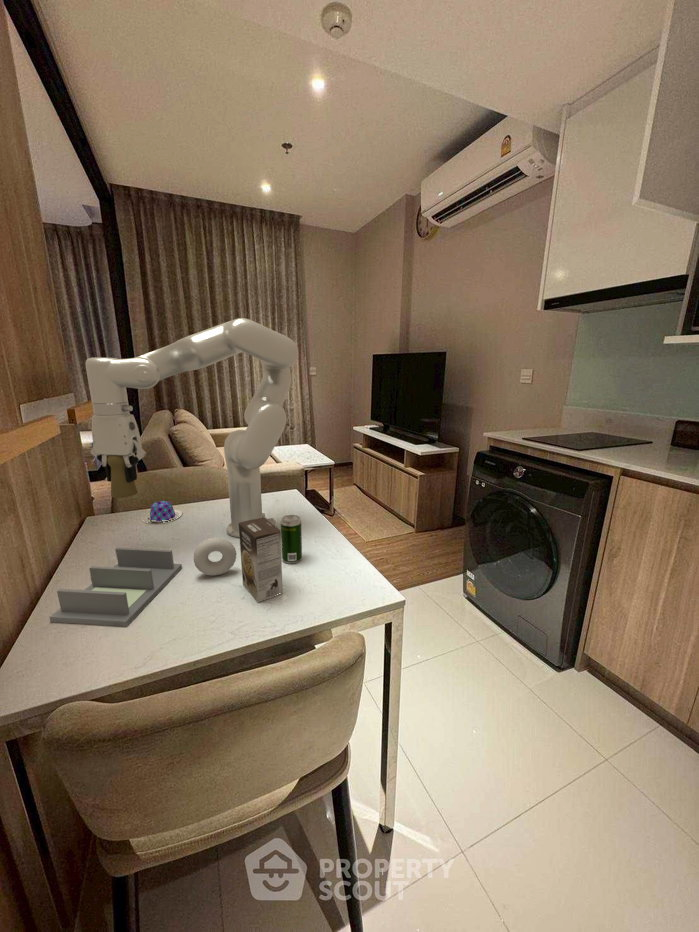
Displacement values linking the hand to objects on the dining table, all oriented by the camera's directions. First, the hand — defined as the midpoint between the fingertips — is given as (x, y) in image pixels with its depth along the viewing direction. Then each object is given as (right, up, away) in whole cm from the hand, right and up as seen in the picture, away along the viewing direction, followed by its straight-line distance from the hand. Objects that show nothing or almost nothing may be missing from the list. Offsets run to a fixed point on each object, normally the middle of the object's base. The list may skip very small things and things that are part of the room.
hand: (122, 479), depth 96 cm
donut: (+26, -24, -4) cm, 35 cm away
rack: (+7, -25, -11) cm, 29 cm away
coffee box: (+38, -26, -9) cm, 47 cm away
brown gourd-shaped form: (0, -4, +1) cm, 4 cm away
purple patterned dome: (-4, -14, +30) cm, 33 cm away
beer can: (+43, -22, +4) cm, 49 cm away
